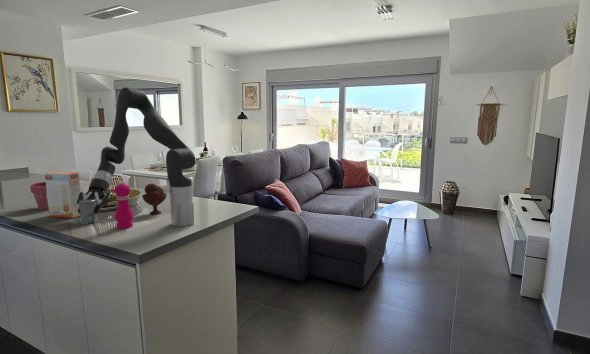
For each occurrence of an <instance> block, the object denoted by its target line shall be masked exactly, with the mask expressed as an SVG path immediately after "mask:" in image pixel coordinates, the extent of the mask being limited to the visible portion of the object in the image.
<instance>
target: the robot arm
mask: <svg viewBox="0 0 590 354" xmlns="http://www.w3.org/2000/svg"><path fill="white" fill-rule="evenodd" d="M129 109H135V110H138V111H140V113H141V114H142V115H143V121H142V123H143V127H144V130H145V131H146V132H147V133H148V135H149V136H150V137H151V139H152V140H154V141H155V142H157V143H159V144H160V145H163V146H165V147H166V148H168V149H169V150H168V151H167V152H166V155H165V166H166V175H167V181H168V183H169V199H170V203H169V204H170V220H171V222H170V223H171V226H174V227H181V228H183V227H187V226H191V225H194V224H195V214H194V213H195V211H194V209H195V208H194V203H193V185H192V184H193V183H192V178H190V177H188V176H185V175H183V170H189V169H192V168H194V166H195V165H196V156H195V154H194V152H193V151H192V150H191V148H190V147H189V146H187V144H185V142H184V141H183V140H181V139H180V137H178V135H177V134H176V132H175V131H173V129H172V128H171V126H169V124H168V123H167V121H166V120H165V119H164V118H163V117H162V116H161V114H160V113H159V111H157V109H156V107H155V106H154V105H153V103H152V102H151V100H150V99H149V97H148V95H147V94H146V93H145V91H143V90H141V89H138V88H134V87H133V88H131V87H127V86H126V87H123V88H121V89H120V91H119V93H118V98H117V103H116V109H115V118H114V119H115V120H114V125H113V129H112V131H111V135H110V138H109V144H111V146H113V147H110V146H105V147H103V148H102V149H101V152H100V161H99V162H100V164H99V166H98V167H97V171H96V173H94V175H93V178H92V180H91V182H90V184H89V187H88V189H87V191H86V192H82V191H80V194H79V196H78V199H77V202H76V203H77V204H78V205H79V201H80V200H83V199H96V201H97V205H96V207H95V209H94V213H95V214H98V215H99V213H100V211H101V209H102V208H103V207H106V206H107V205H108V204H109V202H110V200H111V198H112V194H111V193H110V192H108V190H109V188H110V185H111V183H112V178H113V177H114V174H115V171H116V169H117V167H116V165H121V164H123V162H124V161H125V157H126V155H125V154H126V152H125V149H126V148H125V147H126V143H127V141H128V136H129V134H130V128H129V124H128V121H127V112H128V110H129ZM114 164H115V165H114ZM77 211H78V213H79V214H80V210H79V208H78V210H77Z"/></svg>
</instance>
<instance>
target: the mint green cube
mask: <svg viewBox="0 0 590 354" xmlns="http://www.w3.org/2000/svg"><path fill="white" fill-rule="evenodd" d="M88 222H89V224H92V223H93V224H95V223H94V220H93V214H88Z"/></svg>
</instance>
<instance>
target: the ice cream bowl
mask: <svg viewBox="0 0 590 354" xmlns="http://www.w3.org/2000/svg"><path fill="white" fill-rule="evenodd" d="M144 192H145V193H144V194H142V195H141V197H142V199H143V201H144V202H145V203H146V204H148V205H149V206H152V207H153V208H152V211H150V212H149V215H152V216H158V215H161V214H162V211H161V210H159V209H158V206H159V205H161V204H162V203H163V202H164V201H165V200H166V198H167V195H168V194H167V193H166V192H164V188H162V187H161V186H158V185H156V183H148V184H146V186H145V187H144Z"/></svg>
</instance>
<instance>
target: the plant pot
mask: <svg viewBox="0 0 590 354" xmlns="http://www.w3.org/2000/svg"><path fill="white" fill-rule="evenodd" d="M29 187H30V188H29V189H30V190H29V191H30V193H32V194H33V197H34V199H35V203H36V204H37V208H38V209H39V210H41V211H47V210H48V211H49V208H48V198H47V188H46V181H40V182H35V183H30V185H29Z"/></svg>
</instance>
